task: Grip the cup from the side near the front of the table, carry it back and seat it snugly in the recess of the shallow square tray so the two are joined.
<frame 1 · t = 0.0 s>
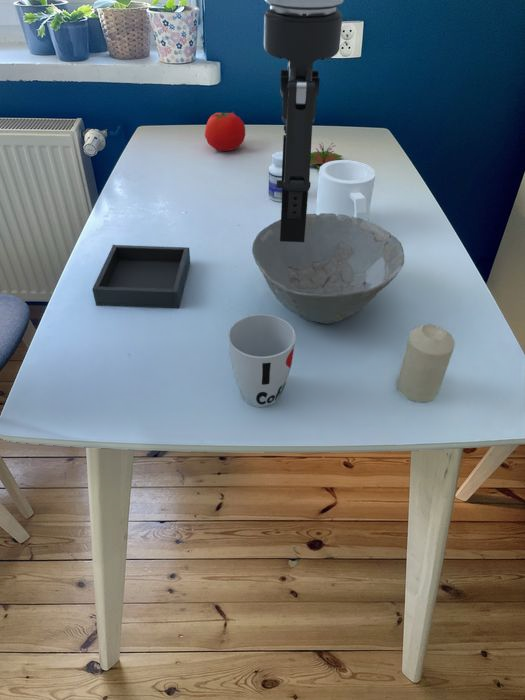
hand: (291, 211, 65), 20 cm above the table, tool pointing down, fingers open, 13 cm apart
tomato: (224, 149, 132), on the table
candle: (417, 388, 72), on the table
shallow square tray: (145, 282, 89), on the table
cup: (260, 393, 71), on the table
ceramic bowl: (321, 304, 86), on the table
lily flower: (324, 164, 127), on the table
pill bottle: (280, 197, 114), on the table
mug: (341, 227, 104), on the table
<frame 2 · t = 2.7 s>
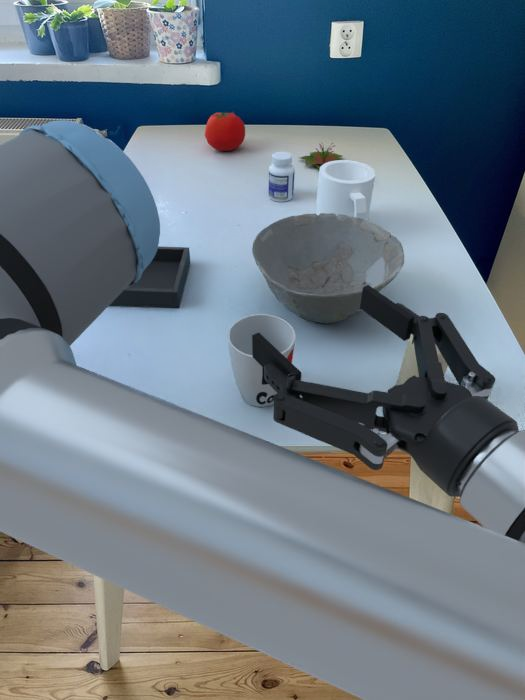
hand: (312, 319, 53), 18 cm above the table, tool horizontal, fingers open, 13 cm apart
nothing on the table moved.
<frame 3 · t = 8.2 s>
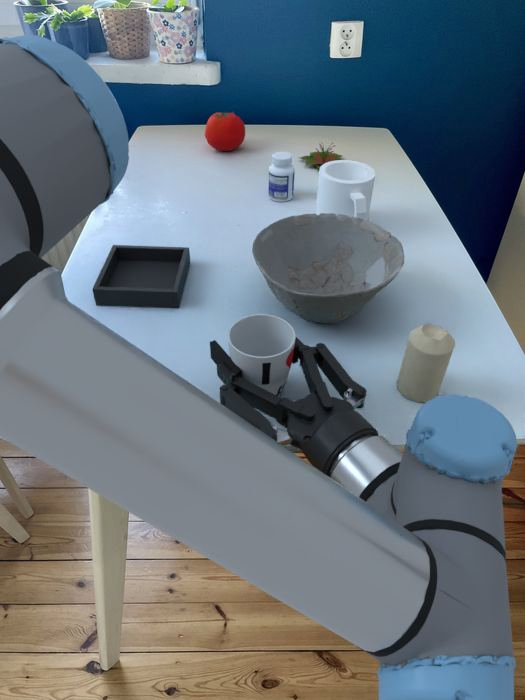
hand: (241, 337, 70), 6 cm above the table, tool horizontal, fingers closed on cup, 8 cm apart
cup: (260, 393, 71), on the table, touching gripper
everything else where it was.
when the fingers open (7 cm above the table, at t = 18.1 s): cup stays where it is, resting on shallow square tray.
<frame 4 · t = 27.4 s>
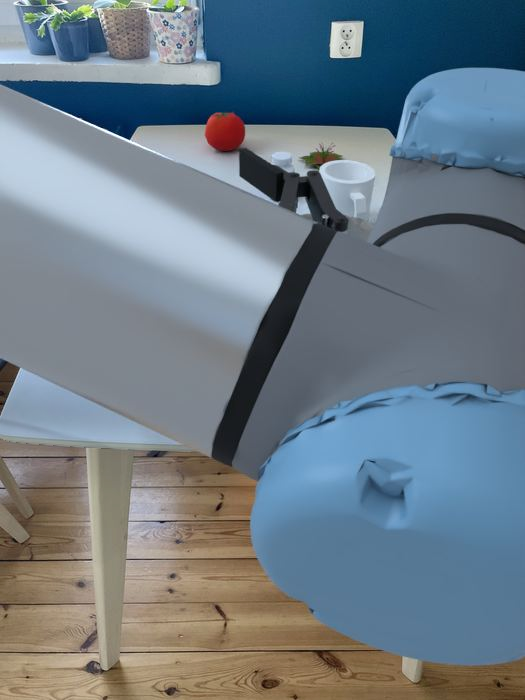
hand: (179, 177, 50), 30 cm above the table, tool horizontal, fingers open, 13 cm apart
cup: (145, 280, 89), resting on shallow square tray
everything else where it was.
at the end: cup 0.0 cm off-centre in the shallow square tray, point 0.4 cm above the shallow square tray's base; cup tilted 0° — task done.
